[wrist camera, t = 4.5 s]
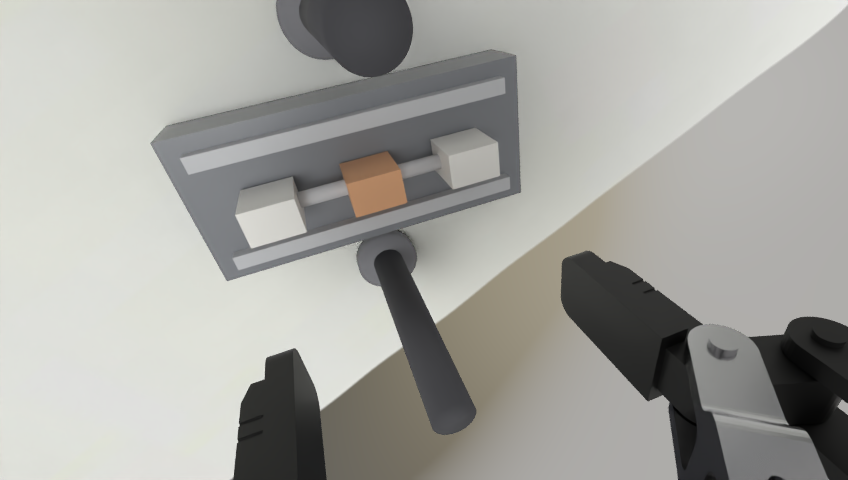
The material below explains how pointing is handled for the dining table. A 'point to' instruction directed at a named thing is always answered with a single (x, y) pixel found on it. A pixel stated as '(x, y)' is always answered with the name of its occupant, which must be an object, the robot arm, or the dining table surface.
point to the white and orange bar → (364, 185)
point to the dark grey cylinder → (349, 32)
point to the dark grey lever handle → (417, 331)
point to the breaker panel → (342, 154)
